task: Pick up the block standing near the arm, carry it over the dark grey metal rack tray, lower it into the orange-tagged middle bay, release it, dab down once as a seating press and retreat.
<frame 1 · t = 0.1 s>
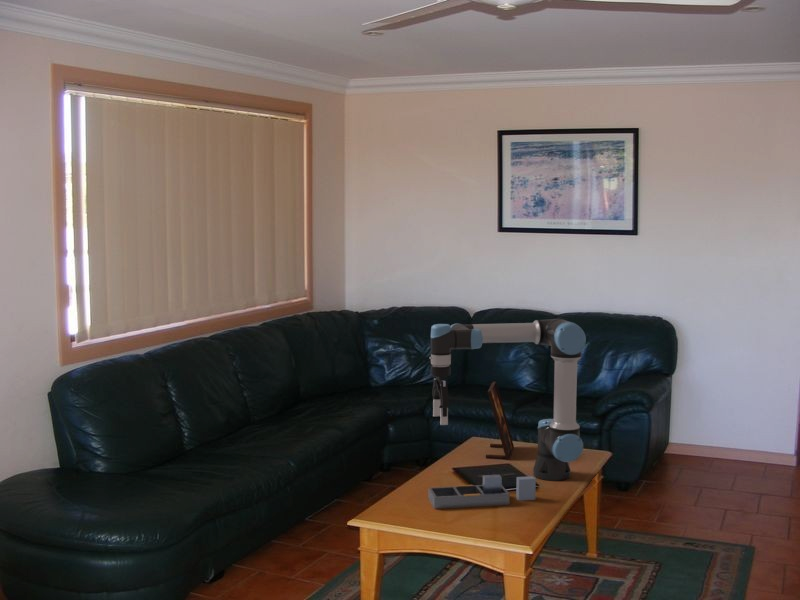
hand: (440, 420, 344), 28 cm above the table, fingers open, 13 cm apart
block: (525, 498, 339), on the table
picture frame: (500, 453, 401), on the table
rack: (468, 501, 336), on the table
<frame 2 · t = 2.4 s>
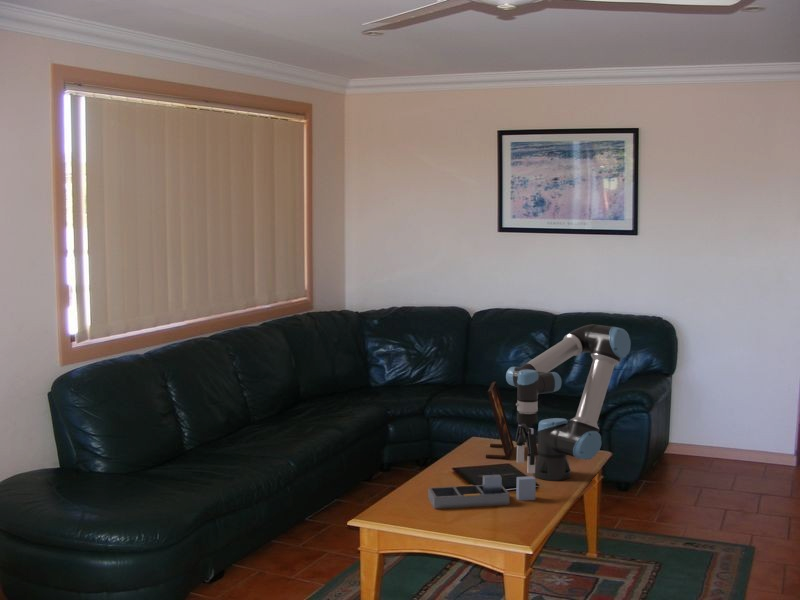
hand: (525, 467, 338), 12 cm above the table, fingers open, 13 cm apart
nothing on the table moved.
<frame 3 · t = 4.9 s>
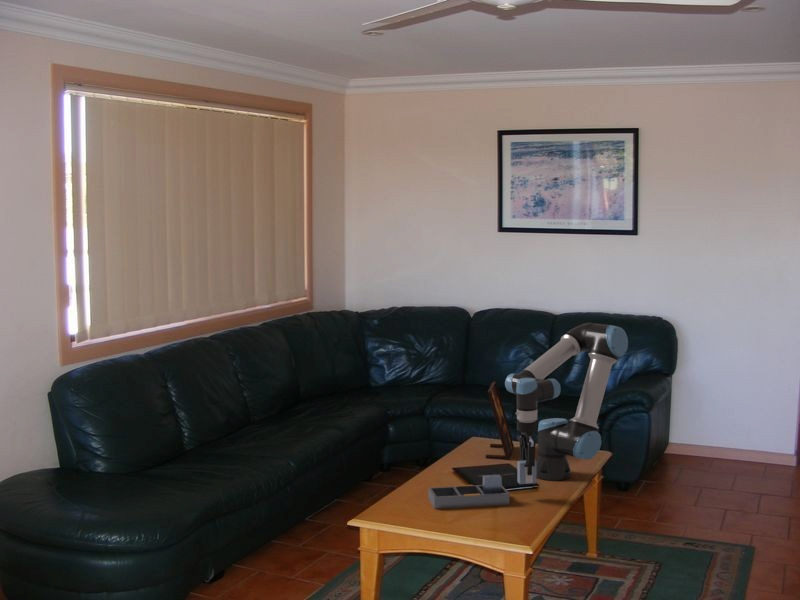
hand: (527, 481, 339), 7 cm above the table, fingers closed on block, 3 cm apart
block: (526, 482, 339), point 6 cm above the table, touching gripper
everything else where it was.
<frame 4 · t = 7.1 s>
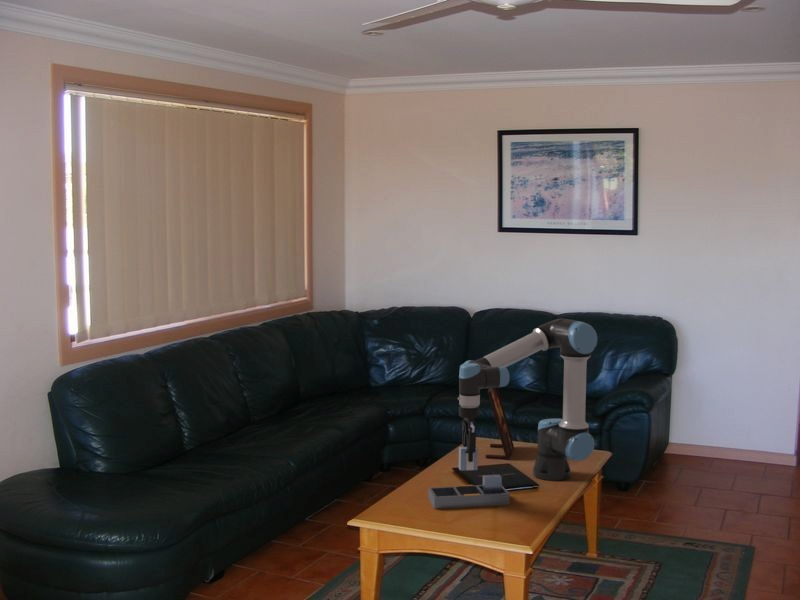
hand: (468, 468, 334), 13 cm above the table, fingers closed on block, 3 cm apart
block: (468, 469, 334), point 12 cm above the table, touching gripper
everything else where it was.
when the fingers open (2 cm above the table, at t = 9.4 s): block stays where it is, resting on rack.
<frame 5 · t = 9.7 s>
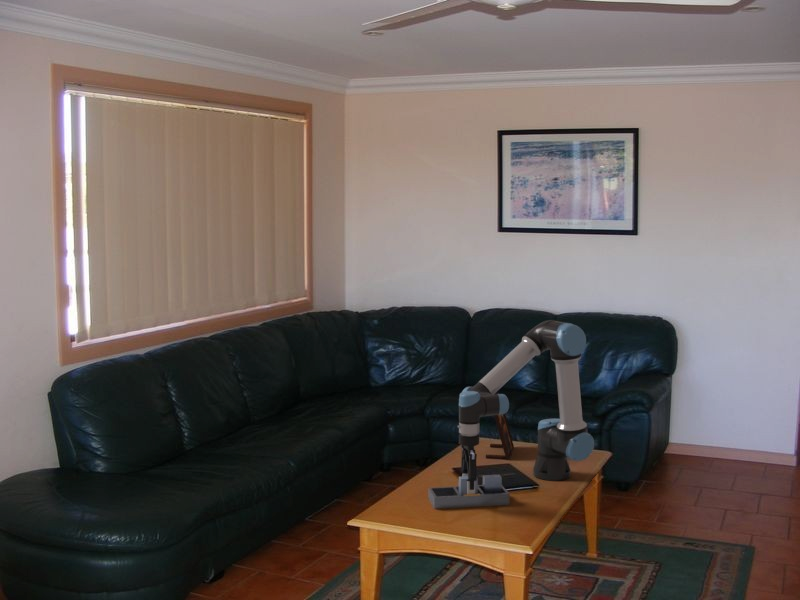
hand: (468, 494, 336), 3 cm above the table, fingers open, 7 cm apart
block: (468, 498, 336), point 1 cm above the table, touching rack
everything else where it was.
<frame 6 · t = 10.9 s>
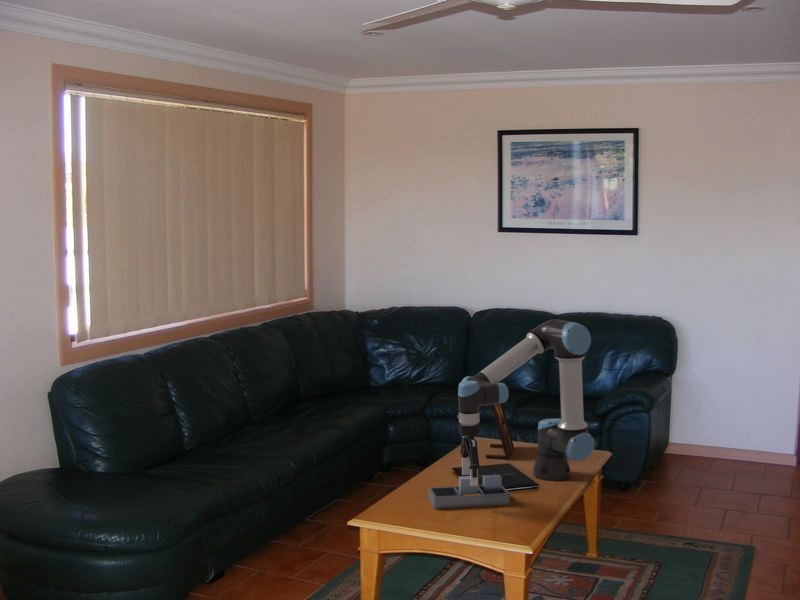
hand: (469, 480, 335), 8 cm above the table, fingers open, 12 cm apart
nothing on the table moved.
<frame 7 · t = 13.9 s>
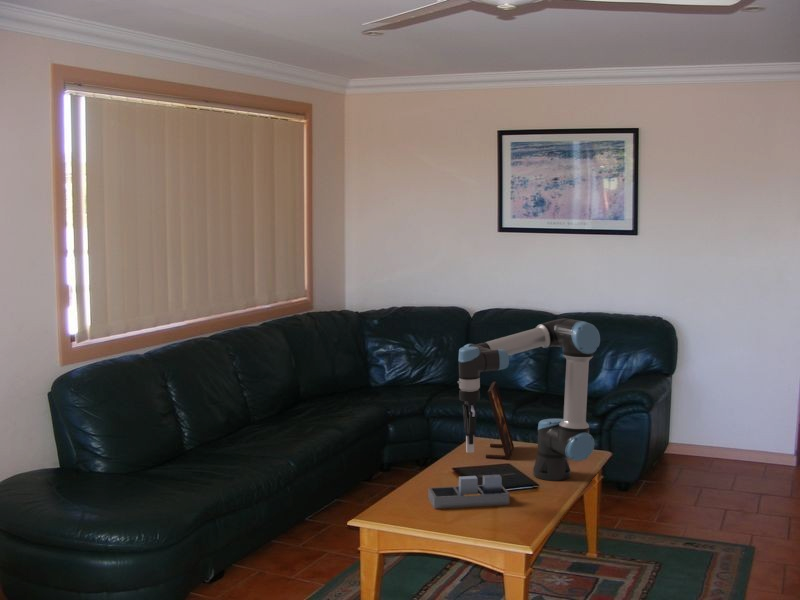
hand: (470, 451, 334), 19 cm above the table, fingers closed
nothing on the table moved.
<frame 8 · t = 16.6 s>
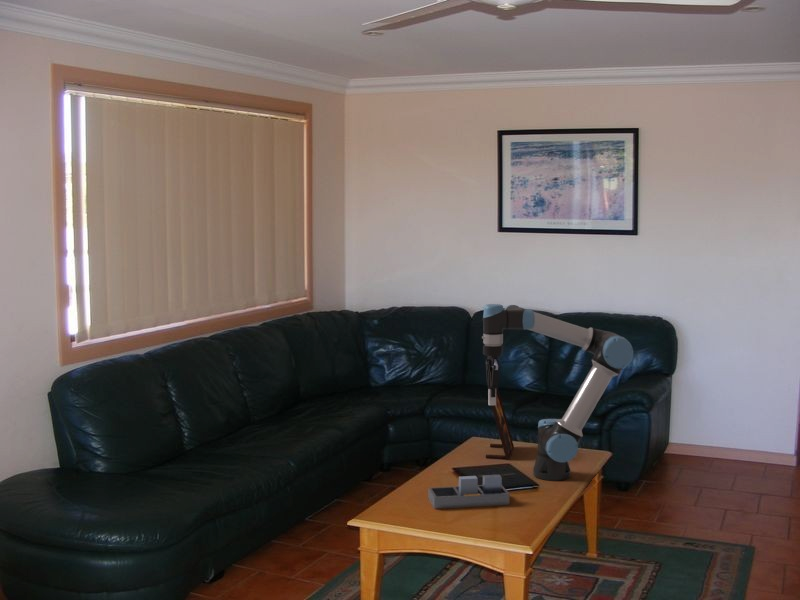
hand: (492, 404, 350), 32 cm above the table, fingers closed
nothing on the table moved.
at the end: block inside the target area on the rack (0.2 cm from its centre), point 1.2 cm above the rack's base; block tilted 0°; the gripper is holding nothing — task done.
